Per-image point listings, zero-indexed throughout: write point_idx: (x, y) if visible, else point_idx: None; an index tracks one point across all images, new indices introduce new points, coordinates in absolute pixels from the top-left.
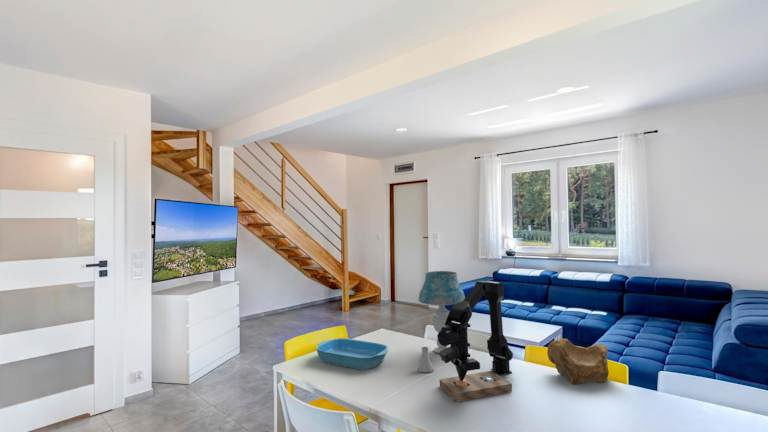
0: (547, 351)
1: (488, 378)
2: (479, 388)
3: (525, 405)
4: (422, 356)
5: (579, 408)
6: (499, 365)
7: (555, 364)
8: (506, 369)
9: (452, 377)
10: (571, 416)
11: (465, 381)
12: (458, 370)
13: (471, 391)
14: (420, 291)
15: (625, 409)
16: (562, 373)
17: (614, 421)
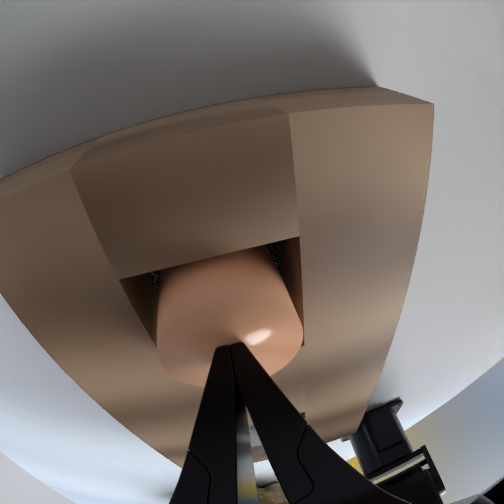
0: None
1: (257, 444)
2: (112, 403)
3: (64, 438)
4: None
5: (85, 479)
6: (369, 447)
7: None
8: (351, 443)
9: (405, 263)
10: (38, 462)
11: (193, 377)
12: (270, 462)
13: (53, 353)
14: None
15: (101, 496)
16: (270, 489)
17: (47, 480)
